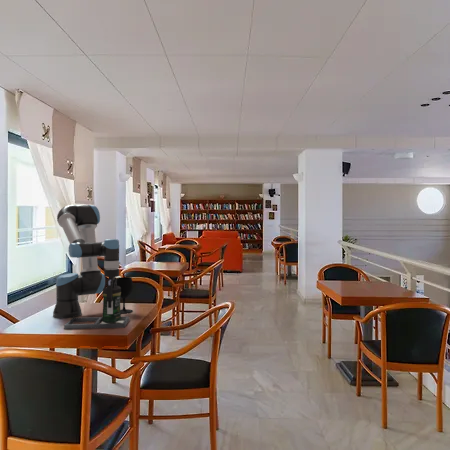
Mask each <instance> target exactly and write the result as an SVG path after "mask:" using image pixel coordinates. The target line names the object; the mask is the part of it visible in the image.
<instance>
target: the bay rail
mask: <svg viewBox="0 0 450 450" xmlns="http://www.w3.org/2000/svg"><path fill="white" fill-rule="evenodd" d="M121 320H124V322H123V323H107V324H101V322H102V316H95V317H94V316H93V317H92V316H91V317H90V316H87V317H83V316H82V317H71V319H69V320H68V322H66V323H65V324H63V329H64V330H83V329H87V330H88V329H90V330H91V329H114V328H115V329H120V328H121V329H123V328H126V326H127V324H128V323H129V321H130V316H121ZM121 320H119V321H121ZM87 321H90V322H89V323H87ZM91 321H92V322H94V323H91ZM82 322H84V323H82ZM85 322H86V323H85ZM77 323H78V324H77ZM79 323H80V324H79Z"/></svg>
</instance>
